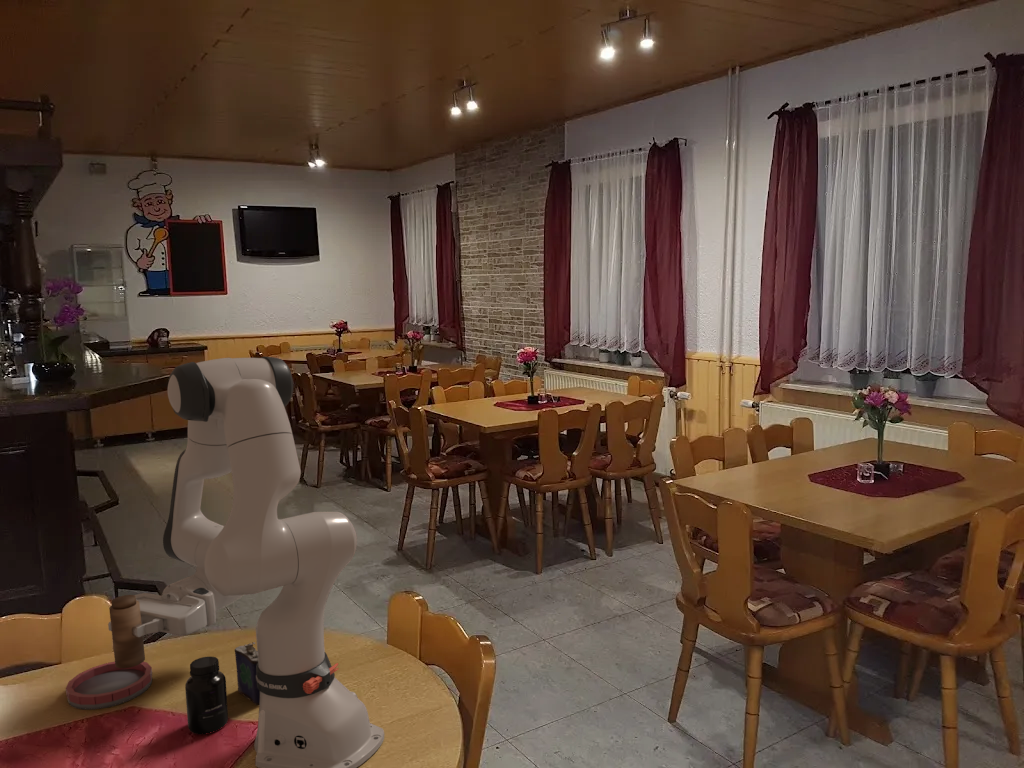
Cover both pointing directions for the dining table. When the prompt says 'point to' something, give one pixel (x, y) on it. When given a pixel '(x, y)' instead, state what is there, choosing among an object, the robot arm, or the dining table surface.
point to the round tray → (108, 685)
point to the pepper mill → (126, 631)
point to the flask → (247, 672)
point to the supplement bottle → (206, 696)
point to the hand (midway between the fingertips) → (122, 630)
